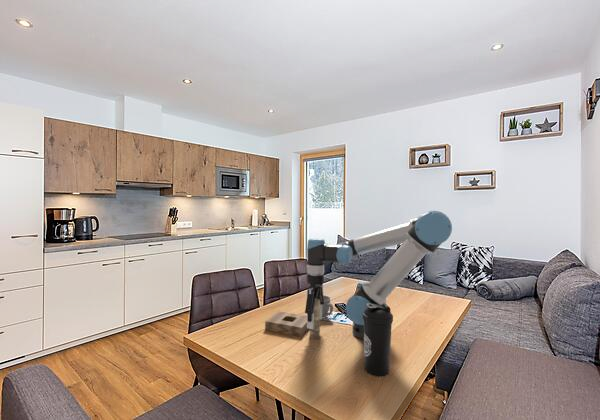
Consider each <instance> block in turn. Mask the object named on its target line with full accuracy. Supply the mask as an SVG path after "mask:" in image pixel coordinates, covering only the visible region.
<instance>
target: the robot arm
mask: <svg viewBox="0 0 600 420" xmlns="http://www.w3.org/2000/svg"><path fill="white" fill-rule="evenodd" d="M452 230H453V226H452V222H451V220H450V217H448V216H447V215H446V214H445V213H444V212H441V211H438V210H429V211H426V212H424V213H422V214H421V215H420V216H417V217H414V218H411V219H410V220H409V222H408V223H403V224H399V225H397V226H396V225H395V226H394V227H393V226H392V227H390V228H386V229H382V230H380V231H376V232H374V233H369V234H366V235H363V236H359V237H356V238H353V239H350V240H345V241H343V242H340V243H337V244H331V243H330V244H329V243H326V242H325V239H323V238H320V237H319V238H315V237H314V238H309V239H308V240H307V248H306V250H307V251H306V253H307V255H306V259H307V260H306V261H307V262H306V265H305V267H306V273H307V274H306V283H307V284H309V285H310V286H309V288H307V291H306V292H307V293H306V294H307V295H306V303H305V310H304V313H305V314H306V316H307V328H308V330H310V329H314V313H313V310H314V305H315V299H316V298H317V299H320V320H322V319H323V318H322V304H324V296H325V295H324V287H323V285H324V283H325V275H324V274H325V262H327V263H328V262H329V263H337V264H350V263H351V262H352V260H353V257H357V256H359V255H362V254H364V255H365V254H367V253H371V252H374V251H378V250H379V251H380V250H383V249H387V248H389V247H390V248H391V247H394V246H396V245H397V246H398V245H400V247H399V248H398V249H397V250H396V251H395V252H394V253H393V254H392V256H391V257H390V258H389V259H388V260H387V262H386V263H385V264H384V265H383V266H382V267H381V269H380V270H378V272H377V273H376V274H375V275H374V276H373V278H372V279H371V280H370V281H359V282H357V286H356V291H355V292H354V293H353V295H352V296H351V297H349V299H348V300H347V302H346V304H345V311H346V315H347V316H348V318H349V319H350V320H351V321H352V322H353V324H352V334H353V336H355V337H356V338H358V339H361V340H363V341H364V320H363V312H364V311H365V309H366V308H368V307H367V306H366V304H368V303H371V304H376V305H382V304H384V303H385V304H387V298H388V297H389V295H390V294H391V293H392V292H393V291H394V290H395V289H396V288H397V287H398V285H400V284H401V282H402V281H403V280H404V279H405V278H406V277H407V276H408V275H409V273H410V272H411V271H412V270H413V269H414V268H415V266H417V264H418V263H419V262H420V261H421V260H422V259H423V258H424V256H426V254H433V253H434V252H435V251H436V250H437V249H438V248H439V247H440V246H441V245H442V244H443V243H444V242H446V241H447V240H448V239H450V236H452V235H451V234H452ZM323 295H324V296H323Z"/></svg>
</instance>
